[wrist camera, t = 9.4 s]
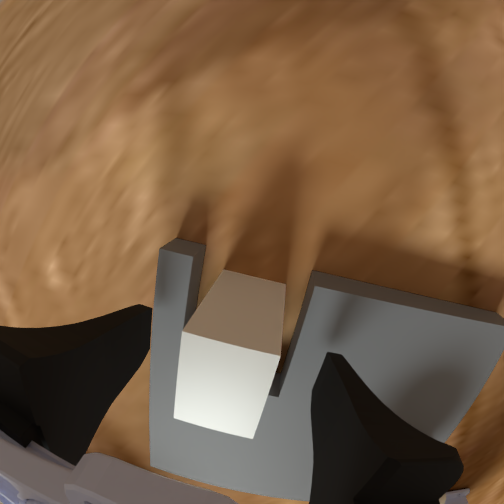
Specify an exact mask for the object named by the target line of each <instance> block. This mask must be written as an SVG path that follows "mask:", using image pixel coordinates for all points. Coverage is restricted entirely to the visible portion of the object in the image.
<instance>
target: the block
mask: <svg viewBox="0 0 504 504" xmlns="http://www.w3.org/2000/svg"><path fill="white" fill-rule="evenodd" d="M285 293H286V284H283V283H279V282H275V281H271V280H266V279H262V278H258V277H254V276H250V275H245V274H241V273H237V272H233V271H229V270H225V269H223V271H222V272H221V274H220V275H219V277H218V278H217V280H216V281H215V283H214V284H213V286H212V287H211V289H210V290H209V292H208V293H207V294H206V296H205V297H204V299H203V300H202V302H201V303H200V305H199V306H198V308H197V309H196V311H195V312H194V314H193V315H192V317H191V318H190V320H189V321H188V323H187V324H186V326H185V327H184V329H183V330H182V336H181V345H180V354H179V363H178V373H177V383H176V394H175V406H174V418H175V419H178V420H181V421H185V422H188V423H191V424H195V425H198V426H202V427H205V428H209V429H213V430H216V431H220V432H224V433H228V434H232V435H237V436H241V437H246V438H250V439H253V437H254V434H255V431H256V429H257V426H258V423H259V420H260V417H261V414H262V411H263V408H264V405H265V403H266V400H267V397H268V394H269V391H270V388H271V385H272V381H273V378H274V375H275V372H276V369H277V366H278V363H279V360H280V356H281V346H282V333H283V321H284V307H285Z"/></svg>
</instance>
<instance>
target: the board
mask: <svg viewBox="0 0 504 504" xmlns="http://www.w3.org/2000/svg"><path fill="white" fill-rule="evenodd" d="M205 249H206V245H203V244H199V243H195V242H191V241H186V240H182V239H178V238H175V239H174V240H172V241H171V242H169V243H167V244H166V245H164V246H163V247H161V248H160V249H159V258H158V267H157V276H156V287H155V298H154V310H153V324H152V340H151V361H150V399H149V429H150V465H151V466H152V467H155V468H158V469H160V470H163V471H166V472H169V473H172V474H175V475H179V476H182V477H185V478H189V479H192V480H196V481H199V482H203V483H207V484H210V485H214V486H219V487H223V488H227V489H232V490H236V491H241V492H246V493H251V494H257V495H263V496H269V497H276V498H283V499H291V500H300V501H310V493H311V484H312V473H313V441H312V427H311V411H310V409H311V395H312V388H313V386H314V383H315V381H316V379H317V376H318V374H319V371H320V369H321V366H322V364H323V361H324V359H325V356H326V353H327V352H332V353H337V354H342V355H343V356H344V358H345V359H346V360H347V361H348V363H349V364H350V365H351V366H352V368H353V369H354V370H355V372H356V373H357V374H358V375H359V377H360V378H361V379H362V380H363V382H364V383H365V384H366V385H367V386H368V387H369V389H370V390H371V391H372V392H373V393H374V394H375V395H376V396H377V397H378V398H379V399H380V400H381V401H382V402H383V403H384V404H385V405H386V406H387V407H388V408H389V409H390V410H392V411H393V412H394V413H395V414H396V415H398V416H399V417H400V418H401V419H403V420H404V421H406V422H407V423H408V424H410V425H411V426H413V427H414V428H416V429H418V430H419V431H421V432H423V433H424V434H426V435H428V436H430V437H432V438H434V439H436V440H438V441H440V442H443V443H445V441H446V440H447V439H448V437H449V436H450V435H451V433H452V432H453V431H454V429H455V428H456V427H457V425H458V424H459V423H460V421H461V420H462V418H463V417H464V415H465V414H466V413H467V411H468V410H469V408H470V407H471V405H472V404H473V402H474V400H475V399H476V397H477V396H478V394H479V393H480V391H481V389H482V388H483V386H484V384H485V383H486V381H487V379H488V378H489V376H490V374H491V372H492V371H493V369H494V367H495V365H496V363H497V362H498V360H499V358H500V356H501V354H502V352H503V350H504V319H503V318H502V317H501V316H500V315H499V314H498V313H496V312H492V311H487V310H483V309H478V308H474V307H470V306H465V305H461V304H457V303H452V302H448V301H443V300H439V299H435V298H430V297H426V296H422V295H417V294H413V293H409V292H404V291H400V290H396V289H391V288H387V287H383V286H378V285H374V284H370V283H365V282H361V281H357V280H352V279H348V278H344V277H340V276H335V275H331V274H327V273H322V272H318V271H314V270H312V273H311V276H310V280H309V283H308V287H307V290H306V294H305V297H304V301H303V304H302V307H301V311H300V314H299V317H298V321H297V324H296V327H295V331H294V334H293V337H292V340H291V343H290V346H289V350H288V353H287V356H286V359H285V362H284V365H283V368H282V371H281V373H276V372H275V375H274V378H273V381H272V385H271V388H270V391H269V394H268V397H267V400H266V403H265V405H264V408H263V411H262V414H261V417H260V420H259V423H258V426H257V429H256V431H255V434H254V437H253V439H250V438H246V437H241V436H237V435H232V434H228V433H224V432H220V431H216V430H213V429H209V428H205V427H202V426H198V425H195V424H191V423H188V422H185V421H181V420H178V419H175V418H174V406H175V394H176V383H177V373H178V363H179V354H180V345H181V336H182V330H183V329H184V327H185V326H186V324H187V323H188V321H189V320H190V318H191V317H192V315H193V314H194V312H195V311H196V305H197V299H198V292H199V286H200V279H201V273H202V267H203V261H204V255H205Z"/></svg>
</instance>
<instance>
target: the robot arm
mask: <svg viewBox="0 0 504 504" xmlns="http://www.w3.org/2000/svg"><path fill="white" fill-rule="evenodd" d="M151 320H152V308H150V307H147V306H144V305H141V304H138V305H134V306H130V307H127V308H124V309H122V310H119V311H116V312H113V313H110V314H107V315H104V316H101V317H97V318H94V319H90V320H87V321H83V322H79V323H75V324H69V325H63V326H56V327H44V328H16V327H6V326H0V501H1V502H2V503H3V504H238V503H237V502H235V501H234V500H232V499H231V498H230V497H228V496H225V495H222V494H220V493H217V492H214V491H211V490H209V489H205V488H201V487H197V486H194V485H190V484H187V483H184V482H180V481H177V480H174V479H171V478H168V477H165V476H162V475H159V474H156V473H153V472H151V471H148V470H145V469H142V468H140V467H137V466H135V465H132V464H130V463H127V462H125V461H122V460H120V459H118V458H115V457H112V456H109V455H105V454H102V453H97V452H95V453H88V454H85V453H86V451H87V449H88V447H89V445H90V443H91V440H92V438H93V436H94V434H95V433H96V431H97V429H98V427H99V425H100V423H101V421H102V419H103V418H104V416H105V414H106V412H107V411H108V409H109V407H110V406H111V404H112V403H113V401H114V400H115V398H116V397H117V396H118V395H119V393H120V392H121V391H122V389H123V388H124V387H125V386H126V384H127V383H128V382H129V380H130V379H131V378H132V376H133V375H134V374H135V372H136V371H137V370H138V368H139V367H140V366H141V364H142V362H143V360H144V359H145V357H146V355H147V353H148V351H149V349H150V336H151ZM310 411H311V427H312V441H313V473H312V484H311V493H310V501H309V504H440V502H439V499H440V498H441V497H442V496H443V495H444V494H446V501H445V503H444V504H468V501H467V499H466V495H467V494H469V492H470V489H469V488H467V489H462V490H456V491H450V492H447V491H448V490H449V489H450V488H451V487H452V486H453V485H454V484H455V483H456V482H457V481H458V480H459V478H460V476H461V474H462V472H463V467H464V466H463V464H462V461H461V459H460V456H459V454H458V452H457V449H456V448H454V447H452V446H450V445H447V444H445V443H443V442H440V441H438V440H436V439H434V438H432V437H430V436H428V435H426V434H424V433H423V432H421V431H419V430H418V429H416V428H414V427H413V426H411V425H410V424H408V423H407V422H406V421H404V420H403V419H401V418H400V417H399V416H398V415H396V414H395V413H394V412H393V411H392V410H390V409H389V408H388V407H387V406H386V405H385V404H384V403H383V402H382V401H381V400H380V399H379V398H378V397H377V396H376V395H375V394H374V393H373V392H372V391H371V390H370V389H369V387H368V386H367V385H366V384H365V383H364V382H363V380H362V379H361V378H360V377H359V375H358V374H357V373H356V372H355V370H354V369H353V368H352V366H351V365H350V364H349V363H348V361H347V360H346V359H345V358H344V356H343V355H342V354H337V353H332V352H327V353H326V356H325V359H324V361H323V364H322V366H321V369H320V371H319V374H318V376H317V379H316V381H315V383H314V386H313V388H312V395H311V409H310Z"/></svg>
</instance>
